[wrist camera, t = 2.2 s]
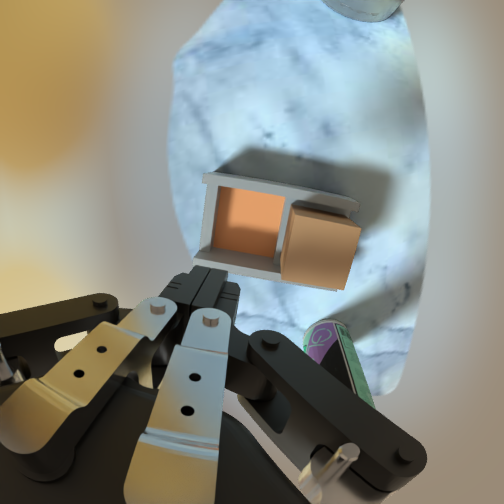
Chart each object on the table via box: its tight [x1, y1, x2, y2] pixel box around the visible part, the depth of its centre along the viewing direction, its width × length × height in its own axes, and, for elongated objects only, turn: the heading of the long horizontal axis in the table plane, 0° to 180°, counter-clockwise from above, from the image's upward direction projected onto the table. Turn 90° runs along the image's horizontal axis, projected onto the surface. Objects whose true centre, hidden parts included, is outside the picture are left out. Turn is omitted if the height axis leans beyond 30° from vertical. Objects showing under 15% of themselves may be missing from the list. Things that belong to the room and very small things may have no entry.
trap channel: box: [193, 172, 360, 292], centre depth 25 cm, size 8×13×4 cm, turn 81°
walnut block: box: [280, 204, 361, 290], centre depth 22 cm, size 5×5×5 cm
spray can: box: [303, 319, 375, 409], centre depth 21 cm, size 6×6×20 cm
